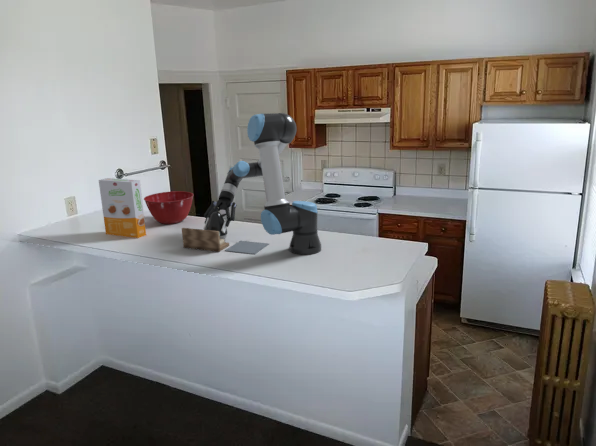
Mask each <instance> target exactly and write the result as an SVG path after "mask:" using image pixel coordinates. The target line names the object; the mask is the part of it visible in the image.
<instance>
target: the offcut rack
mask: <svg viewBox="0 0 596 446" xmlns="http://www.w3.org/2000/svg"><path fill="white" fill-rule="evenodd" d="M181 236H182V246H183V249H189V248H191V250H197V249H199V250H200V251H205V252H206V251H207V252H215V253H216V252H217V253H220V252H222V251H223V250H226V249H227V248H229V247H230V242H226V241H225V240H226V239H220V232H219V231H212V230H204V229H203V228H202V229H199V228H190V227H182V228H181Z"/></svg>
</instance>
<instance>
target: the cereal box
mask: <svg viewBox="0 0 596 446" xmlns="http://www.w3.org/2000/svg"><path fill="white" fill-rule="evenodd" d="M141 185H142V184H141V179H127V178H126V179H125V178H113V177H112V178H111V177H107V178H102V179H101V178H100V179H98V187H99V193H100V200H101V207H102V215H103V221H104V229H105V235H110V236H117V237H125V238H132V239H133V238H134V239H140V238H142V237H145V236H147V232H146V231H147V230H146V229H147V228H146V222H145V212H144V204H143V196H142V187H141Z"/></svg>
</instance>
